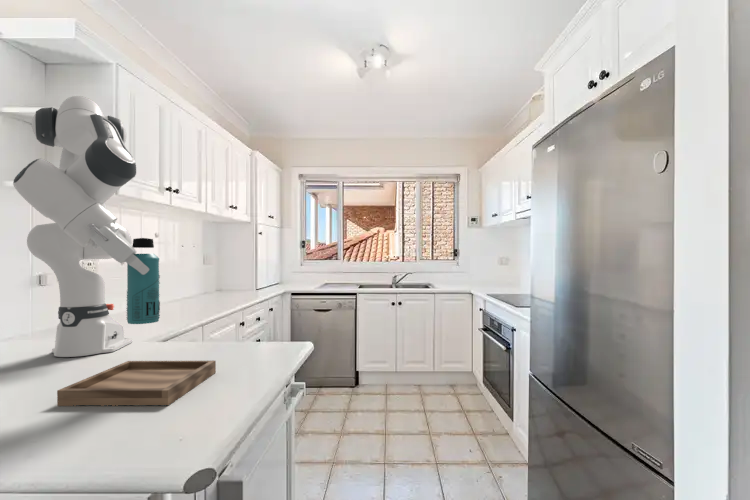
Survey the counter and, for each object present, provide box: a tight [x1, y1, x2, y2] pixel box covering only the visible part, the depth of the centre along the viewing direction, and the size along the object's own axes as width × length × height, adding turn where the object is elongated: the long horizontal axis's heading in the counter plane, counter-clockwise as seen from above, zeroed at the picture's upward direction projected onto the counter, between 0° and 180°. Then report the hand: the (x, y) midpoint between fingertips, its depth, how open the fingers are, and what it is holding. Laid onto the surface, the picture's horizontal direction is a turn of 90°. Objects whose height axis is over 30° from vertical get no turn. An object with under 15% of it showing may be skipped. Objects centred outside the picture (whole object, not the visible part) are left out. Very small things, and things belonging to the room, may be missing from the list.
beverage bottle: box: [125, 237, 161, 325], centre depth 92 cm, size 6×7×20 cm
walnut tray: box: [56, 360, 217, 407], centre depth 92 cm, size 22×22×3 cm
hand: (147, 271), depth 92 cm, fingers closed on beverage bottle, 6 cm apart
